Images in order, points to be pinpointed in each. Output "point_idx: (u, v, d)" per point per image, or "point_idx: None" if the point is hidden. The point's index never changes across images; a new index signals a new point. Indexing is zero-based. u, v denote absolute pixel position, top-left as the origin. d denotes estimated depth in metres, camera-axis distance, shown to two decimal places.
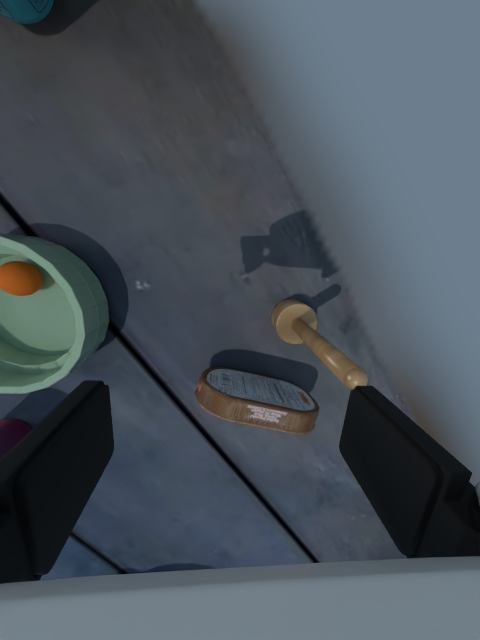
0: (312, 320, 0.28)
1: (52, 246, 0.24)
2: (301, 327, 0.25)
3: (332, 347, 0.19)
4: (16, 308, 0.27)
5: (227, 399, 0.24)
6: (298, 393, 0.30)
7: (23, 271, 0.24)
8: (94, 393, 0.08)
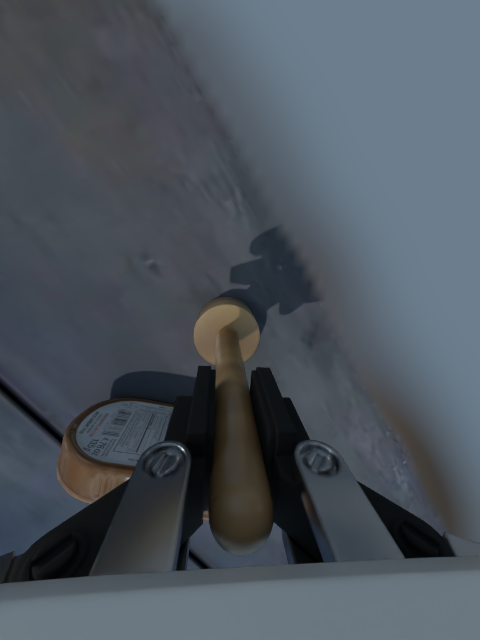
0: (251, 330, 0.18)
1: None
2: (220, 344, 0.15)
3: (233, 397, 0.09)
4: None
5: (88, 469, 0.14)
6: None
7: None
8: (212, 375, 0.09)
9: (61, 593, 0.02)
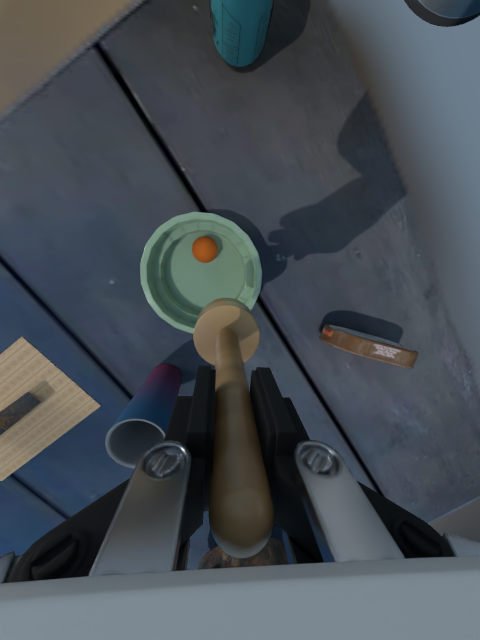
0: (251, 331, 0.18)
1: None
2: (220, 345, 0.15)
3: (233, 399, 0.09)
4: (189, 273, 0.36)
5: (359, 339, 0.33)
6: (394, 344, 0.39)
7: (213, 243, 0.32)
8: (212, 375, 0.09)
9: (61, 593, 0.02)
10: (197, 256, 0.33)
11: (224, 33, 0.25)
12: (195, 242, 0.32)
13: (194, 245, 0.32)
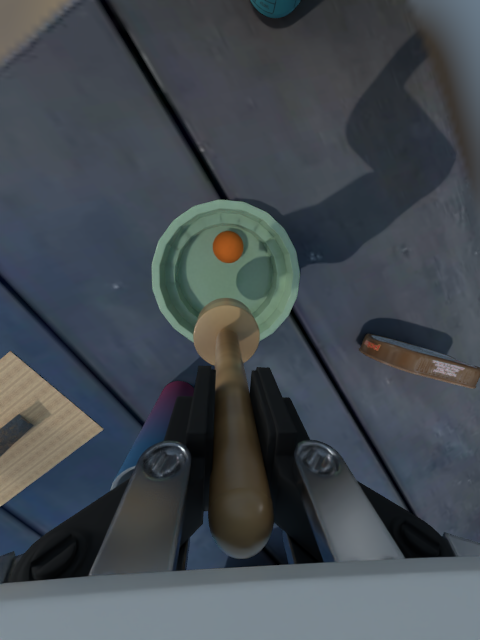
0: (251, 331, 0.18)
1: None
2: (219, 345, 0.15)
3: (233, 399, 0.09)
4: (207, 276, 0.30)
5: (415, 354, 0.27)
6: (447, 357, 0.33)
7: (239, 239, 0.27)
8: (212, 375, 0.09)
9: (61, 593, 0.02)
10: (219, 255, 0.27)
11: None
12: (217, 238, 0.27)
13: (217, 242, 0.26)
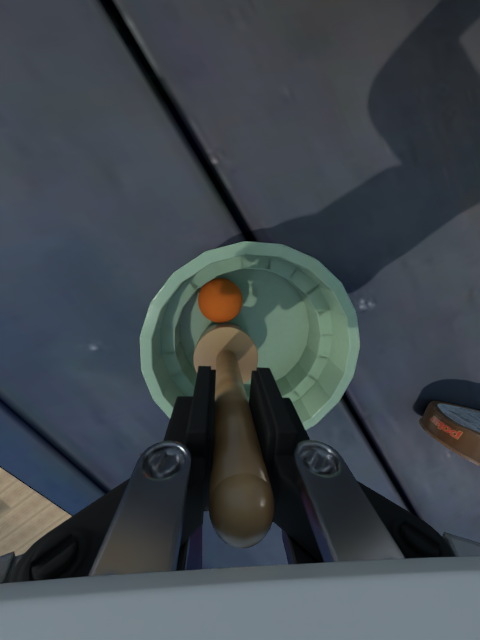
0: (247, 347, 0.18)
1: None
2: (217, 365, 0.15)
3: (228, 405, 0.09)
4: None
5: None
6: None
7: (238, 312, 0.19)
8: (212, 375, 0.09)
9: (61, 593, 0.02)
10: (210, 291, 0.18)
11: None
12: (230, 282, 0.18)
13: (225, 282, 0.18)
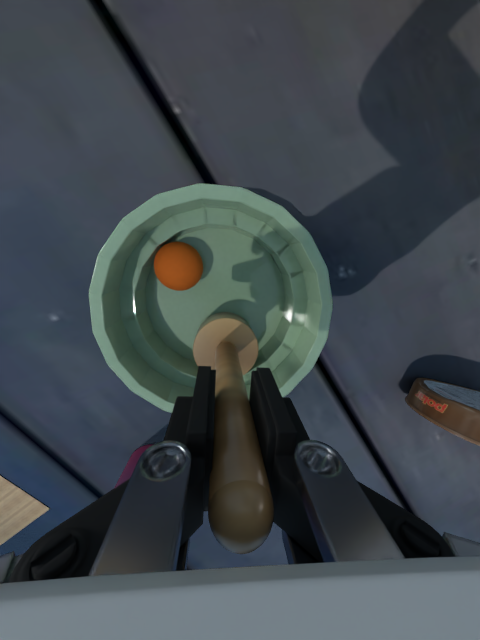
0: (248, 340, 0.18)
1: None
2: (218, 357, 0.15)
3: (230, 403, 0.09)
4: (189, 302, 0.21)
5: None
6: None
7: (194, 280, 0.17)
8: (212, 375, 0.09)
9: (61, 593, 0.02)
10: (159, 257, 0.17)
11: None
12: (184, 247, 0.17)
13: (177, 247, 0.17)
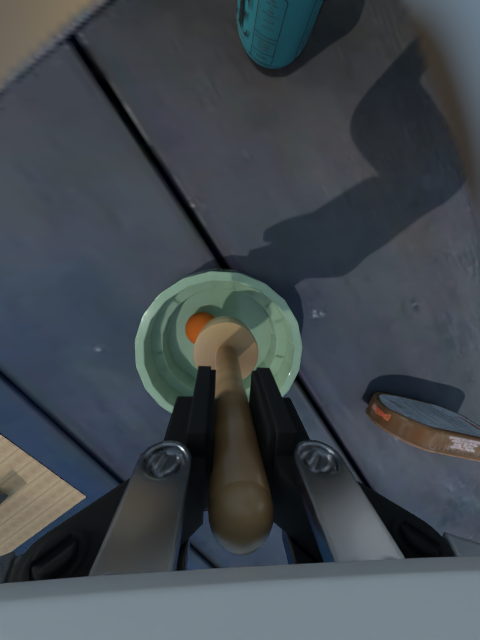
0: (246, 340, 0.18)
1: (259, 280, 0.24)
2: (216, 362, 0.15)
3: (226, 406, 0.09)
4: None
5: (430, 431, 0.25)
6: (461, 419, 0.31)
7: None
8: (212, 375, 0.09)
9: (61, 593, 0.02)
10: (195, 330, 0.24)
11: (259, 18, 0.17)
12: None
13: None
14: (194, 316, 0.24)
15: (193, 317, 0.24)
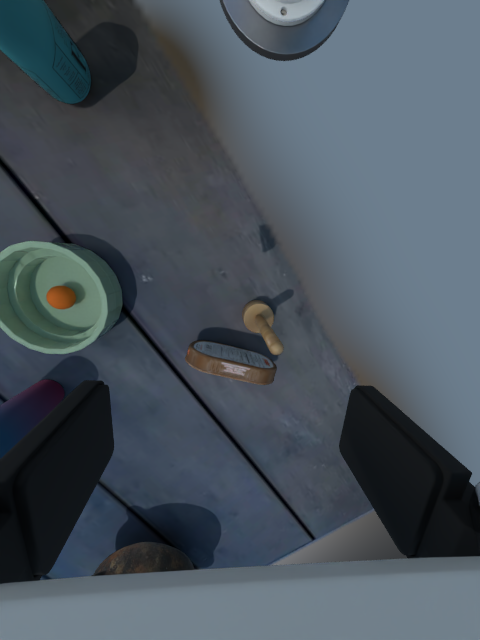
0: (268, 312, 0.39)
1: (84, 250, 0.35)
2: (257, 321, 0.36)
3: (268, 331, 0.30)
4: None
5: (206, 358, 0.35)
6: (263, 359, 0.41)
7: None
8: (94, 393, 0.08)
9: (61, 593, 0.02)
10: (58, 308, 0.36)
11: (32, 77, 0.27)
12: (72, 304, 0.36)
13: (69, 306, 0.36)
14: (58, 302, 0.35)
15: (57, 302, 0.35)
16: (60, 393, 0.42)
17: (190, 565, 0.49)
